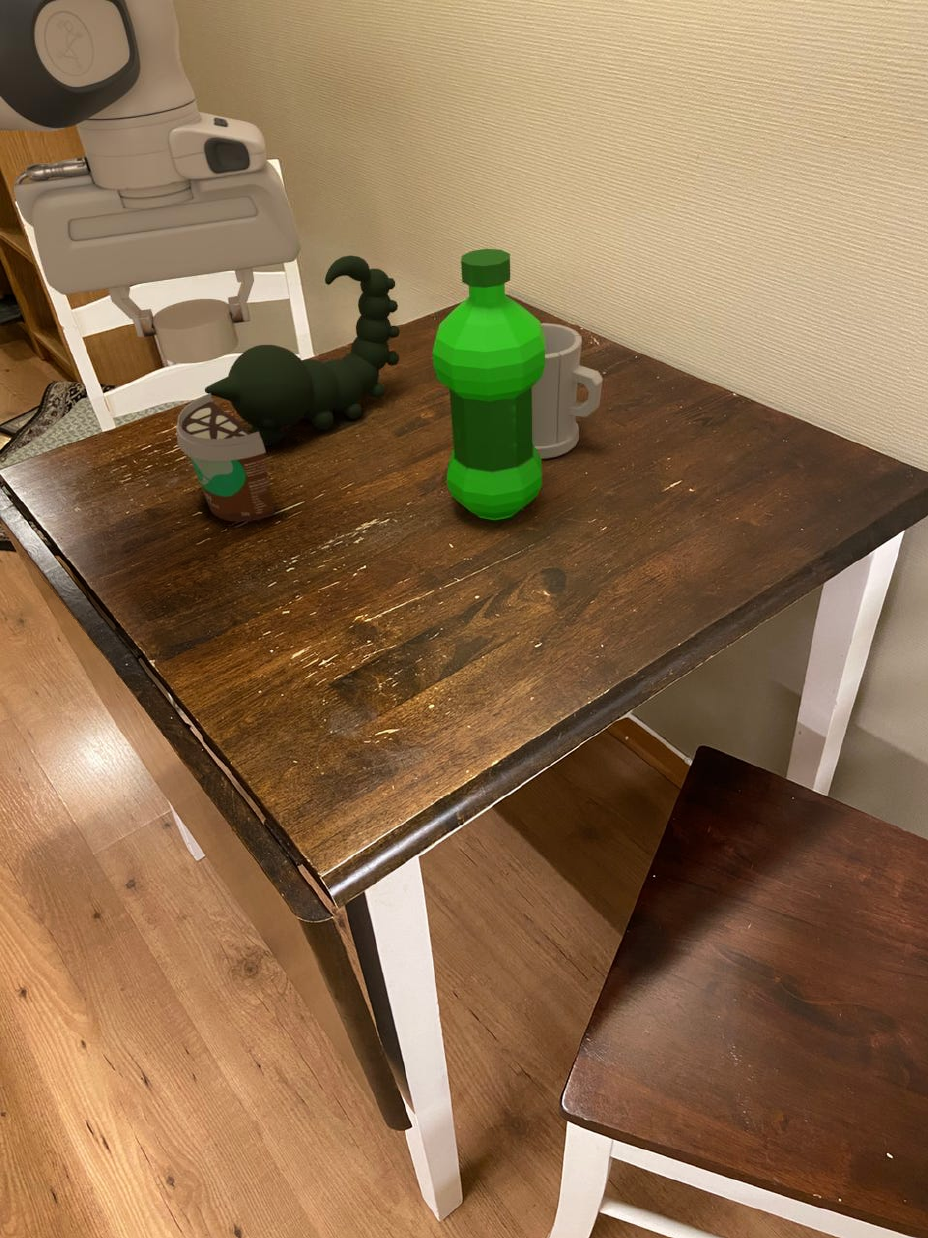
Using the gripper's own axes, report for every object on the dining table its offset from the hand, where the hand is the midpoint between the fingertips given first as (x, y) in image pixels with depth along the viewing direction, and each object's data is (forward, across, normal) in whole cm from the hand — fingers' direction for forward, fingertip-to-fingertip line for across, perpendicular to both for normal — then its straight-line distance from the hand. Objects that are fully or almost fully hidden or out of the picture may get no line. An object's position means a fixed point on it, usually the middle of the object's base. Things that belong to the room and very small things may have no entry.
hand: (195, 327), depth 76 cm
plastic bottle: (+22, +25, -3) cm, 33 cm away
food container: (+22, -2, +6) cm, 23 cm away
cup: (+22, +34, +8) cm, 41 cm away
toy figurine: (+22, +9, +22) cm, 32 cm away
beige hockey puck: (+2, 0, 0) cm, 2 cm away
